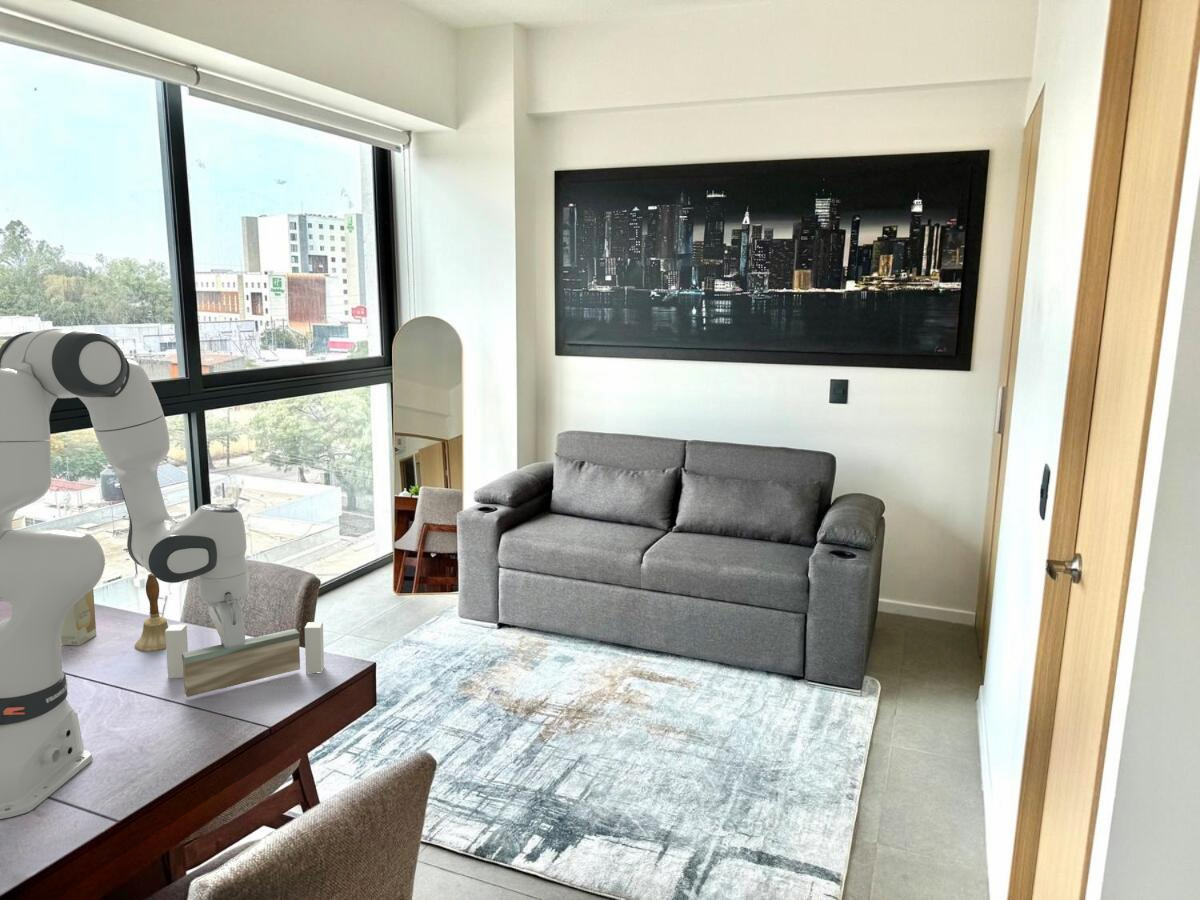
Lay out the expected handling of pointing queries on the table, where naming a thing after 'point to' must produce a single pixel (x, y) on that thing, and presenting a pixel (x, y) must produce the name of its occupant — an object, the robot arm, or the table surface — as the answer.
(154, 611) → the hand bell
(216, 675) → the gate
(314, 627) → the gate posts
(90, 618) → the skincare box
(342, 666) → the table surface
